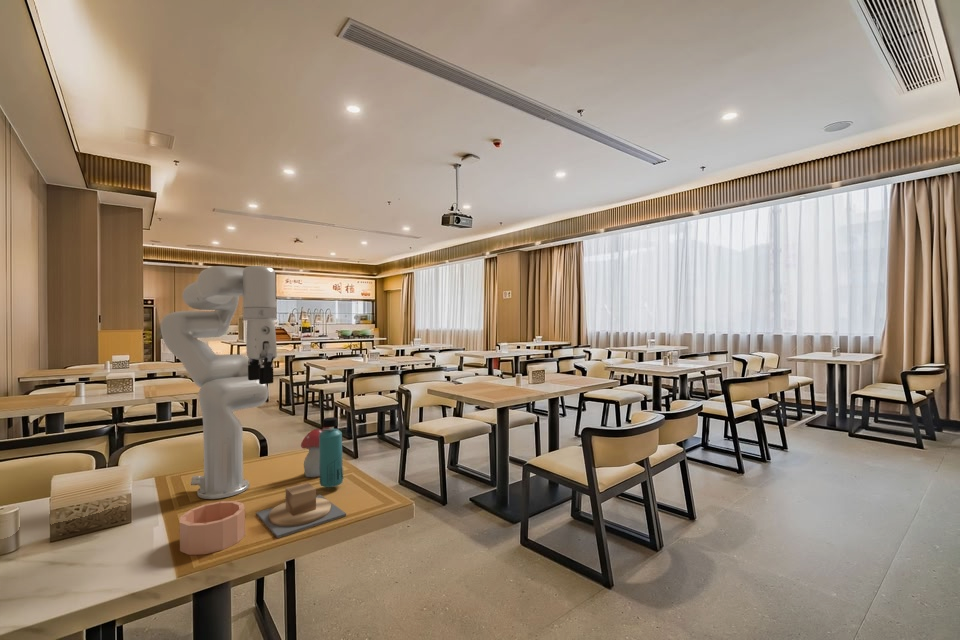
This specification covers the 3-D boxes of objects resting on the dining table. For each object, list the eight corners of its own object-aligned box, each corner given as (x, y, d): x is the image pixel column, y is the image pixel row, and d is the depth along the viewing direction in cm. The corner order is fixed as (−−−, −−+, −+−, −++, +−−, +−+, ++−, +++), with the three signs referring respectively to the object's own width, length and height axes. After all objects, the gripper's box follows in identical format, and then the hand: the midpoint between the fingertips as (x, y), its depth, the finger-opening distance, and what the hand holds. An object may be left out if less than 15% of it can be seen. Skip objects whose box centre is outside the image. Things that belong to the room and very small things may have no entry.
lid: (339, 514, 107) (339, 489, 107) (279, 532, 98) (278, 505, 98) (319, 496, 118) (318, 474, 118) (262, 511, 109) (262, 487, 109)
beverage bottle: (338, 492, 122) (338, 420, 122) (315, 492, 122) (314, 420, 122) (346, 483, 128) (345, 415, 128) (324, 484, 128) (323, 415, 128)
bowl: (166, 555, 90) (166, 526, 90) (201, 527, 102) (201, 501, 102) (226, 553, 90) (226, 524, 90) (254, 526, 102) (254, 500, 102)
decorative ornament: (332, 468, 141) (331, 422, 141) (334, 475, 135) (333, 426, 135) (300, 473, 138) (300, 425, 138) (301, 480, 132) (301, 430, 132)
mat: (277, 538, 96) (277, 535, 96) (256, 514, 108) (256, 512, 108) (346, 515, 107) (346, 513, 107) (320, 496, 119) (320, 494, 119)
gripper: (286, 314, 108) (287, 383, 108) (265, 315, 121) (265, 377, 121) (253, 314, 103) (254, 387, 103) (234, 315, 116) (235, 379, 116)
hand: (260, 381), depth 112 cm, fingers open, 9 cm apart
